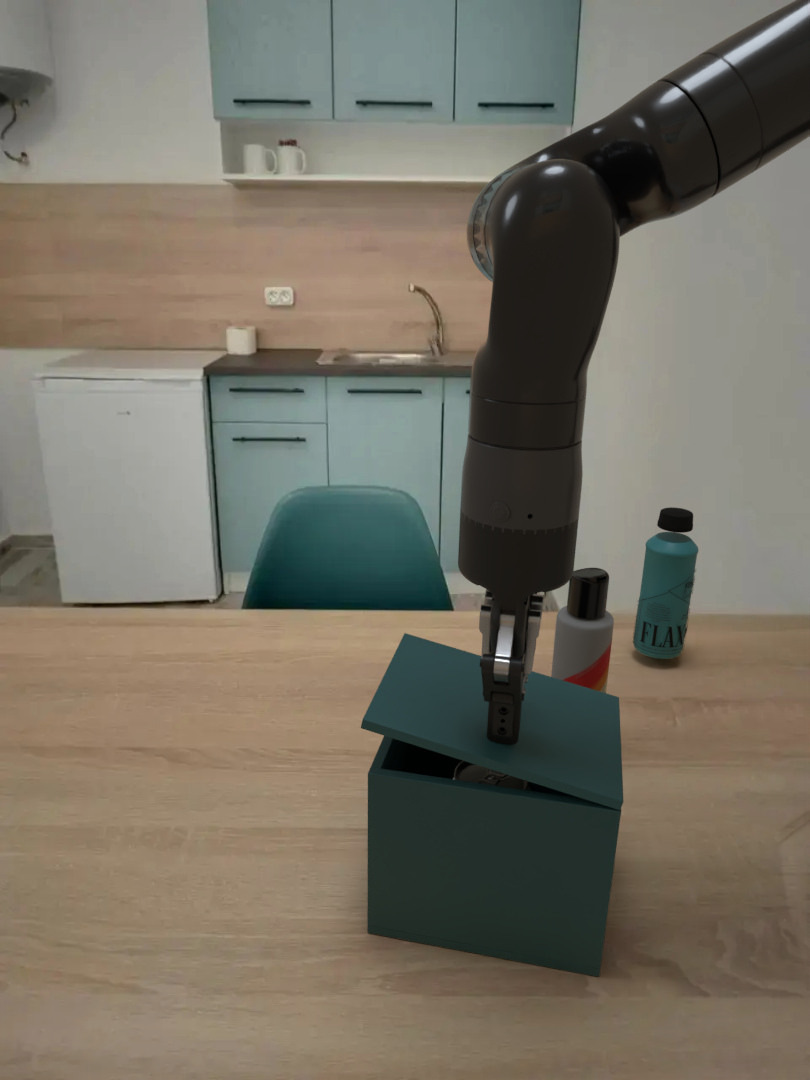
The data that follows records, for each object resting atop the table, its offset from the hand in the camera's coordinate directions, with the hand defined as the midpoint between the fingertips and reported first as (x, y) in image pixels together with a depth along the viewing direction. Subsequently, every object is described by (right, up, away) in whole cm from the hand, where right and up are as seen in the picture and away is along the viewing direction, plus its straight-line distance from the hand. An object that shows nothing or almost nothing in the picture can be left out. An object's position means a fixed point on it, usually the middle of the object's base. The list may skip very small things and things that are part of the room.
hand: (503, 737), depth 59 cm
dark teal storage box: (0, -15, +10) cm, 18 cm away
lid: (0, +1, +4) cm, 4 cm away
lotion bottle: (+11, -8, +30) cm, 33 cm away
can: (-1, -15, +8) cm, 17 cm away
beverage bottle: (+25, -1, +48) cm, 54 cm away
